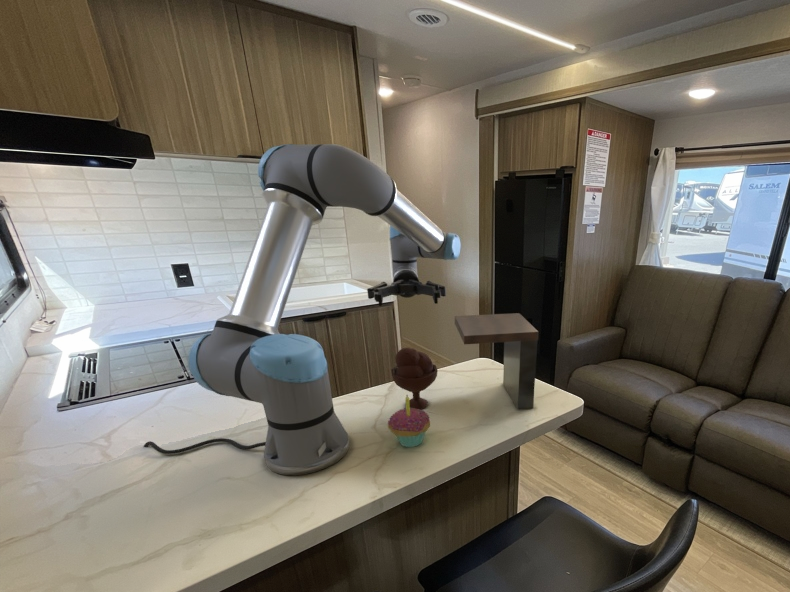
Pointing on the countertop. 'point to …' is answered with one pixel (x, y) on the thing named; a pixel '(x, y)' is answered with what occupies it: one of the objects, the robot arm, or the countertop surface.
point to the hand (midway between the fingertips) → (408, 299)
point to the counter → (507, 349)
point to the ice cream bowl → (414, 374)
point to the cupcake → (409, 425)
